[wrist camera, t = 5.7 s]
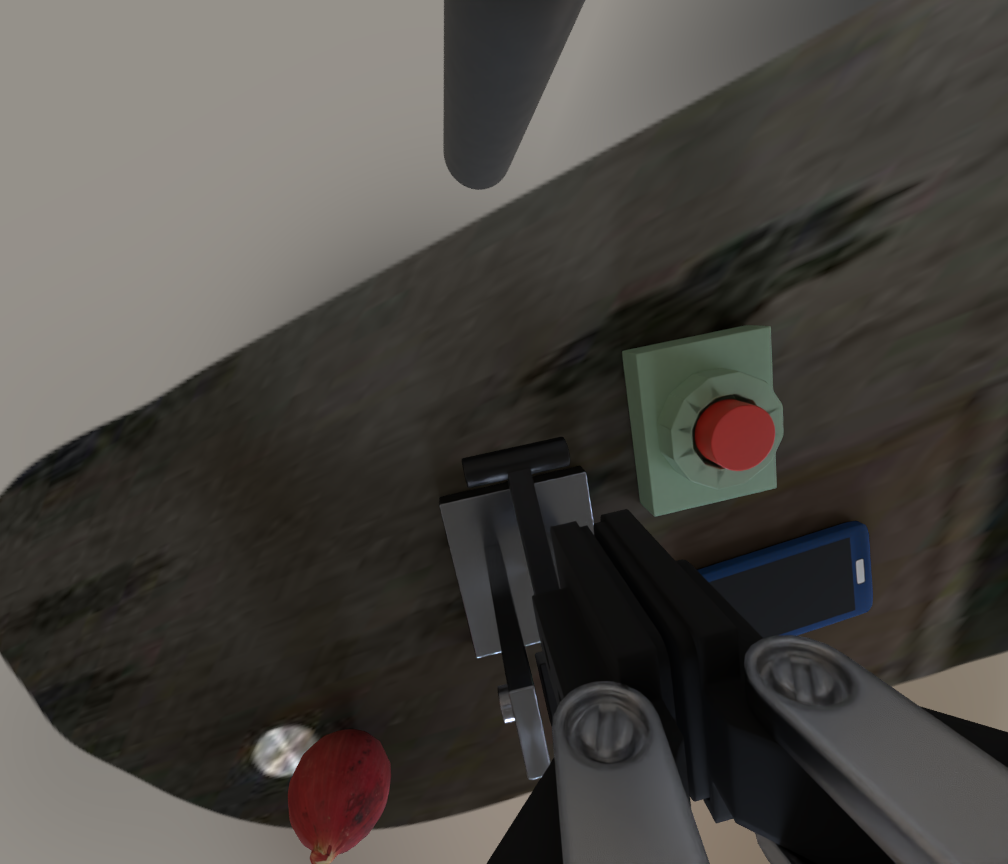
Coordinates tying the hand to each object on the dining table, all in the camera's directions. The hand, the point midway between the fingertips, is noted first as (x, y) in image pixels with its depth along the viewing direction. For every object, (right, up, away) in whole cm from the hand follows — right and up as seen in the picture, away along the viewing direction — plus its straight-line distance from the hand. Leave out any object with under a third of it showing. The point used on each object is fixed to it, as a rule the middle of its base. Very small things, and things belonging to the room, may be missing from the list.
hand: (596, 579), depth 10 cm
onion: (-12, -17, +22) cm, 31 cm away
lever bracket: (-1, -5, +21) cm, 21 cm away
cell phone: (+17, -8, +24) cm, 30 cm away
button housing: (+10, +4, +20) cm, 22 cm away
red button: (+10, +3, +16) cm, 19 cm away
